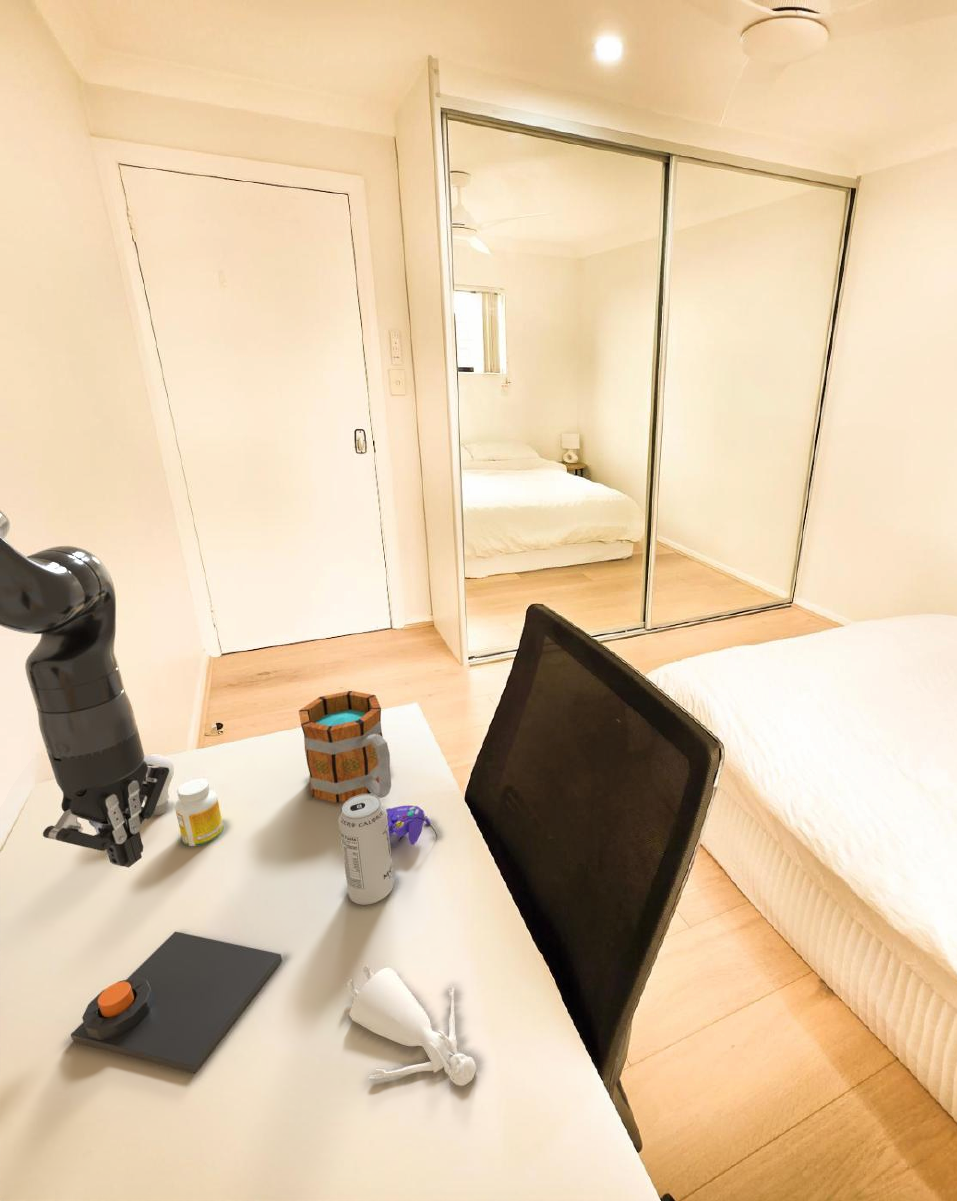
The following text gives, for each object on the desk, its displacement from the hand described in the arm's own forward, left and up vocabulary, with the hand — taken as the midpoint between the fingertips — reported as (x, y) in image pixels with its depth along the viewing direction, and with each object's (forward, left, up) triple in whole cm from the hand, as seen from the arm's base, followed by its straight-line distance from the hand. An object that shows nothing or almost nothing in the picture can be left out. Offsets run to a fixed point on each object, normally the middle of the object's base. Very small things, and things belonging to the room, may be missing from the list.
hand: (128, 861), depth 69 cm
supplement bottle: (-10, +18, -14) cm, 25 cm away
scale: (+9, -5, -14) cm, 18 cm away
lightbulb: (-21, +21, -14) cm, 33 cm away
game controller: (+20, +25, -14) cm, 35 cm away
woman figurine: (+36, -3, -14) cm, 39 cm away
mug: (+7, +34, -14) cm, 38 cm away
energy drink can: (+21, +14, -14) cm, 29 cm away
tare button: (+5, -8, -11) cm, 15 cm away
